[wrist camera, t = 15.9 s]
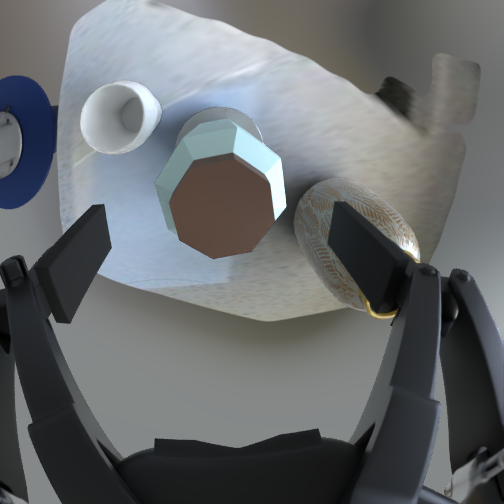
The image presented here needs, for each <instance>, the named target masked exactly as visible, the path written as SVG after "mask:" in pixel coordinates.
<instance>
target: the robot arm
mask: <svg viewBox="0 0 504 504" xmlns="http://www.w3.org/2000/svg"><path fill="white" fill-rule="evenodd" d="M10 108H11V106H10V105H9V106H8V108H7V109H6V111H4V112H0V179H2V178H3V177H6V176H8V175H10V174H11V173H13V172H14V171H15V169H16V168H17V167H18V165H19V163H20V161H21V158H22V154H23V149H24V134H23V129H22V126H21V123H20V121H19V119H18V118H17V117H16V116H15V115H14V114H13V113H11V112H9V110H10ZM327 244H328V245H329V246H330V248H331V249H332V250H333V252H334V253H335V254H336V256H337V257H338V259H339V260H340V261H341V263H342V264H343V266H344V267H345V268H346V270H347V271H348V273H349V274H350V275H351V277H352V278H353V280H354V281H355V283H356V284H357V285H358V287H359V288H360V290H361V291H362V293H363V294H364V296H365V297H366V299H367V300H368V302H369V303H370V305H371V306H372V308H373V309H374V311H375V312H376V314H379V313H386V312H390V311H391V309H392V306H393V304H394V301H395V302H396V303H397V304H398V306H399V307H398V309H397V312H396V314H395V316H394V319H393V321H392V323H391V326H392V330H391V334H390V337H389V341H388V344H387V348H386V351H385V354H384V357H383V360H382V363H381V366H380V369H379V372H378V375H377V378H376V381H375V383H374V386H373V389H372V391H371V394H370V397H369V399H368V402H367V404H366V407H365V409H364V412H363V414H362V416H361V419H360V421H359V423H358V426H357V428H356V430H355V432H354V434H353V435H352V437H351V438H350V440H349V442H345V441H342V440H337V439H332V438H325V437H321V436H320V432H319V429H318V428H317V429H312V430H307V431H301V432H296V433H289V434H281V435H278V436H275V437H273V438H270V439H267V440H264V441H261V442H258V443H255V444H252V445H249V446H245V447H242V448H233V447H227V446H221V445H215V444H211V443H206V442H201V441H197V440H174V439H156V438H155V444H154V448H150V449H146V450H142V451H139V452H137V453H134V454H132V455H130V456H128V457H126V458H123V457H122V456H121V455H120V453H119V452H118V451H117V450H116V449H115V448H114V446H113V445H112V443H111V442H110V441H109V439H108V437H107V436H106V434H105V433H104V431H103V430H102V428H101V426H100V425H99V423H98V422H97V420H96V418H95V417H94V415H93V413H92V412H91V410H90V408H89V406H88V404H87V403H86V401H85V399H84V397H83V395H82V393H81V391H80V390H79V388H78V386H77V384H76V382H75V380H74V378H73V375H72V374H71V371H70V369H69V367H68V365H67V363H66V360H65V358H64V356H63V353H62V351H61V349H60V346H59V344H58V341H57V339H56V336H55V334H54V331H53V328H52V326H51V323H50V321H49V319H48V317H49V315H50V314H51V312H52V314H53V316H54V318H55V320H56V322H57V323H67V324H70V323H71V321H72V319H73V317H74V315H75V313H76V311H77V309H78V307H79V305H80V302H81V301H82V299H83V297H84V295H85V293H86V291H87V290H88V288H89V286H90V284H91V282H92V281H93V279H94V277H95V275H96V273H97V272H98V270H99V268H100V266H101V265H102V263H103V261H104V260H105V258H106V256H107V255H108V253H109V251H110V250H111V248H112V246H111V241H110V236H109V230H108V225H107V219H106V213H105V206H104V204H100V205H92V206H91V207H90V208H89V209H88V210H87V211H86V212H85V213H84V214H83V215H82V216H81V217H80V218H79V219H78V220H77V221H76V222H75V223H74V224H73V225H72V226H71V227H70V228H69V229H68V230H67V231H66V232H65V233H64V234H63V236H62V237H61V238H60V239H59V240H58V241H57V242H56V243H55V244H54V245H53V246H52V247H51V248H49V249H48V250H46V252H45V253H44V254H43V255H42V257H40V258H39V260H38V262H36V263H35V264H34V265H33V267H32V268H31V269H30V270H29V271H28V269H27V266H26V263H25V260H24V257H23V256H21V255H17V256H13V257H10V258H8V259H6V260H5V261H4V262H2V263H1V265H0V275H1V278H2V281H3V283H4V285H5V289H1V290H0V504H29V502H28V494H27V486H26V481H25V475H24V470H23V465H22V461H21V455H20V448H19V442H18V434H17V425H16V412H15V391H14V371H15V370H14V369H15V362H16V366H17V370H18V375H19V379H20V383H21V386H22V389H23V393H24V397H25V400H26V403H27V406H28V409H29V412H30V414H31V418H32V422H33V423H32V424H29V425H28V432H29V435H30V438H31V441H32V443H33V446H34V448H35V451H36V453H37V455H38V458H39V460H40V462H41V464H42V467H43V468H44V471H45V473H46V475H47V477H48V479H49V481H50V483H51V485H52V487H53V488H54V490H55V492H56V494H57V495H58V497H59V499H60V501H61V503H62V504H504V341H503V339H502V337H501V334H500V332H499V329H498V327H497V325H496V323H495V320H494V318H493V316H492V314H491V312H490V309H489V307H488V305H487V303H486V301H485V299H484V297H483V295H482V293H481V291H480V289H479V287H478V286H477V284H476V282H475V280H474V278H473V277H472V276H471V275H470V274H469V273H468V272H467V271H465V270H461V269H453V270H452V272H451V274H450V277H449V278H448V277H442V276H440V273H439V271H438V270H437V269H436V268H434V267H433V266H431V265H429V264H425V263H416V262H415V261H414V260H413V259H412V258H411V257H410V256H409V255H408V254H407V253H405V251H404V250H403V249H402V248H400V247H399V246H398V245H397V244H396V243H395V242H394V241H392V240H390V239H388V238H387V237H386V236H385V235H384V234H383V233H382V232H381V231H379V230H378V229H377V228H376V227H375V226H374V225H373V224H372V223H370V222H369V221H368V220H367V219H366V218H365V217H364V216H362V215H361V214H360V213H359V212H358V211H357V210H355V209H354V208H353V207H352V206H351V205H350V204H348V203H347V202H346V201H334V206H333V213H332V219H331V225H330V230H329V236H328V241H327ZM439 355H440V360H441V366H442V372H443V379H444V386H445V394H446V403H447V414H448V428H449V450H450V463H451V469H452V475H453V477H452V479H451V482H450V483H448V484H447V486H446V487H445V490H444V493H445V496H444V495H442V494H440V493H438V492H436V491H434V490H432V489H430V488H428V487H426V486H424V485H423V483H424V480H425V477H426V474H427V470H428V467H429V463H430V460H431V456H432V452H433V448H434V444H435V439H436V435H437V430H438V424H439V419H440V414H441V404H440V402H439V401H436V400H434V392H435V386H436V378H437V370H438V360H439Z"/></svg>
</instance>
